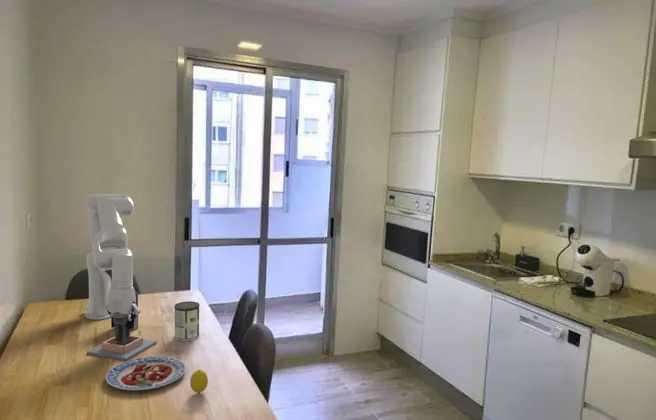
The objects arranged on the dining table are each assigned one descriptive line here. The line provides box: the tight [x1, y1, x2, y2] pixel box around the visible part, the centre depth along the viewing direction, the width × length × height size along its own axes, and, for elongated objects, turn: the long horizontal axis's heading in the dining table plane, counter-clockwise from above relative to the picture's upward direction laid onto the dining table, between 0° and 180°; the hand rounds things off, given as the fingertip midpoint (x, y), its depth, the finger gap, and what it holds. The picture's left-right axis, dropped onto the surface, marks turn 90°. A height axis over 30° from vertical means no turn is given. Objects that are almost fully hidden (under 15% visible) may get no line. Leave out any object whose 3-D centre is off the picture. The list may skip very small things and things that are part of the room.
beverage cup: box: [112, 312, 131, 346], centre depth 183 cm, size 7×7×20 cm
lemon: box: [189, 369, 209, 394], centre depth 151 cm, size 6×6×8 cm
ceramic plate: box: [105, 355, 186, 391], centre depth 162 cm, size 26×26×3 cm
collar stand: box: [86, 334, 157, 362], centre depth 184 cm, size 18×18×4 cm
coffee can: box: [173, 300, 201, 342], centre depth 199 cm, size 10×10×14 cm
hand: (122, 327), depth 184 cm, fingers closed on beverage cup, 6 cm apart
